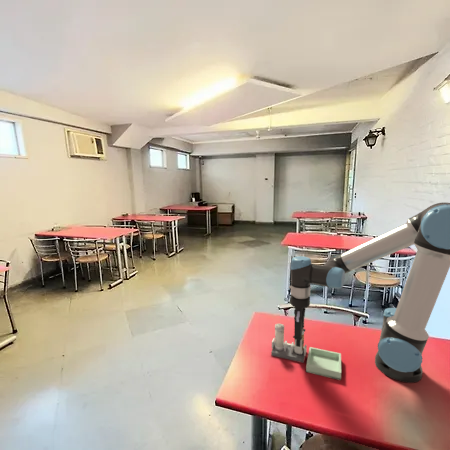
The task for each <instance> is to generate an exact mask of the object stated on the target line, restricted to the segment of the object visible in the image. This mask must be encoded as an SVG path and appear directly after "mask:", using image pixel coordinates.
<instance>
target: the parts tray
mask: <svg viewBox="0 0 450 450" xmlns="http://www.w3.org/2000/svg"><path fill="white" fill-rule="evenodd" d="M305 369H306V370H305V372H306V373H309V374H313V375H317V376H321V377H325V378H329V379H334V380H337V381H342V353H341V352H336V351H331V350H327V349H322V348H321V349H320V348H317V347H312V346H309V348H308V353H307V360H306V366H305Z"/></svg>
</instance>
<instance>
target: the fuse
mask: <svg viewBox="0 0 450 450" xmlns="http://www.w3.org/2000/svg"><path fill="white" fill-rule="evenodd" d="M274 335H275V336H274V338H275V349H276V350H279V351H281V350H283V349H284V342H285V341H284V340H285V324H282V323H275V324H274Z"/></svg>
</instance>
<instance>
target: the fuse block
mask: <svg viewBox="0 0 450 450" xmlns="http://www.w3.org/2000/svg"><path fill="white" fill-rule="evenodd" d="M307 346H308V345H307V344H304V353H303V354H301V355H299V354H296V353H295V352H294V347H295V341H292V342H291V343H288V341H287V340H285V341H284V349H283V350H281V351H279V350H276V349H275V337H273V338H272V341H271V352H270V353H271V356H273V357H277V358H281V359H286V360H290V361H293V362H294V361H295V362H299V363H303V364H304V363H305V359H306V356H307Z"/></svg>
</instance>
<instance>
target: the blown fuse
mask: <svg viewBox="0 0 450 450" xmlns="http://www.w3.org/2000/svg"><path fill="white" fill-rule="evenodd" d="M304 329H305V327H304V328H302V354H303V353H304V347H305V344H304V343H305V332H304ZM294 352H295V347H294ZM295 353H296V352H295ZM296 354H299V355H301V353H296Z"/></svg>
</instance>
